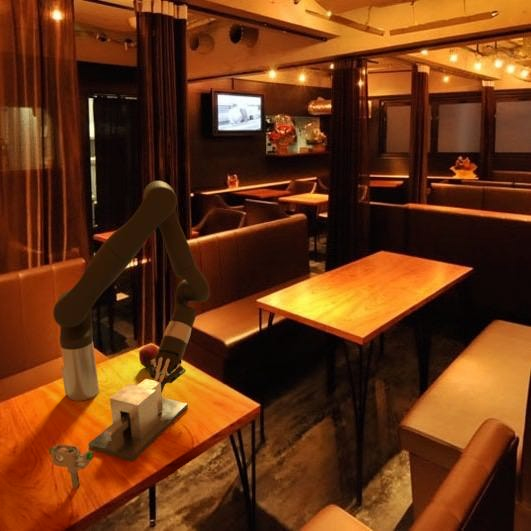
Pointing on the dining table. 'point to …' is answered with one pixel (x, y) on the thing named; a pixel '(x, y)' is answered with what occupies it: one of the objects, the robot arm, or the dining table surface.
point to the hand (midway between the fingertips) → (155, 395)
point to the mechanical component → (71, 460)
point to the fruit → (148, 354)
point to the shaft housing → (137, 422)
